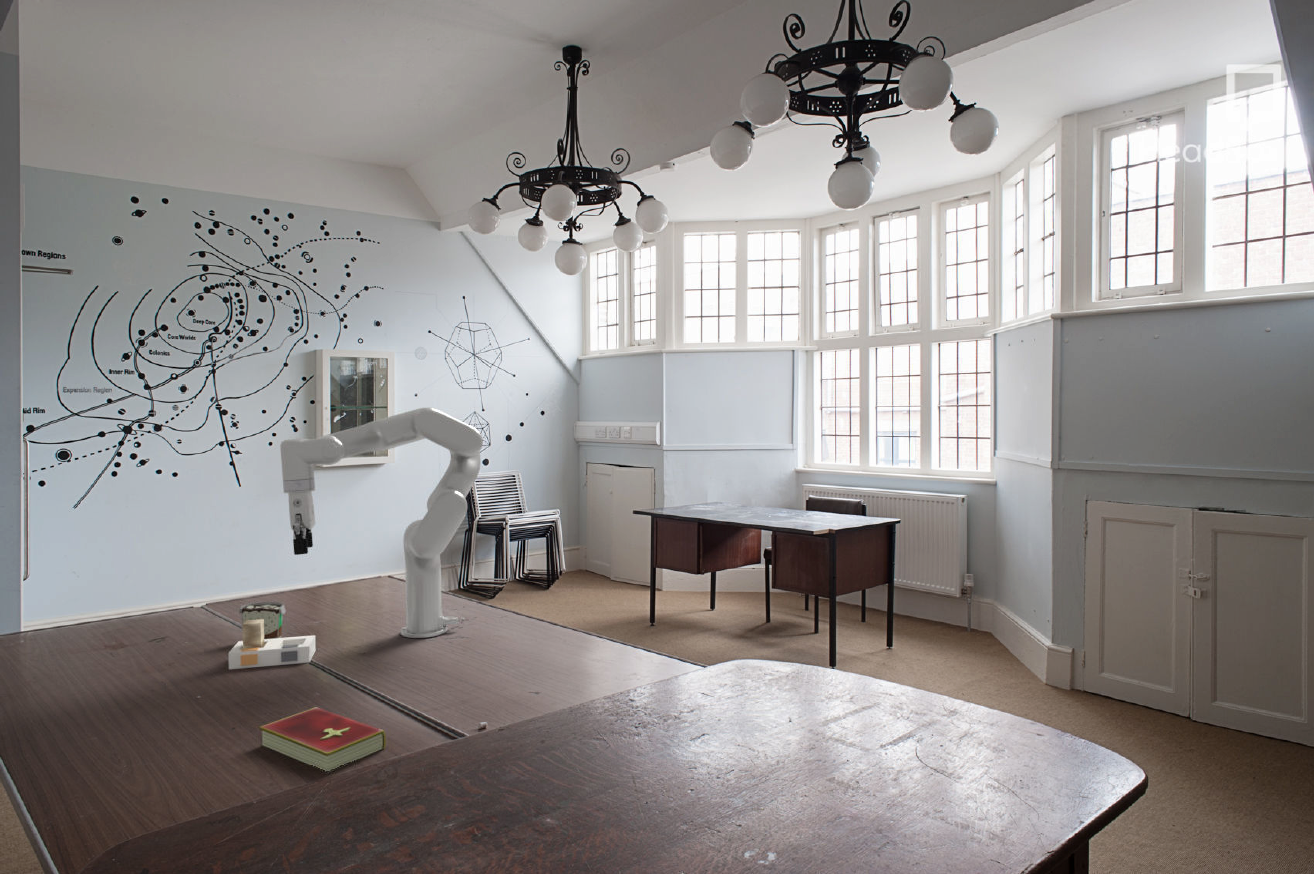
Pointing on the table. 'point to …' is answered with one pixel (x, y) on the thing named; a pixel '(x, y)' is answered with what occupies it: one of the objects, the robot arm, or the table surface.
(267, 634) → the food container
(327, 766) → the hardcover book
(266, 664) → the socket block
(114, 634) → the table surface
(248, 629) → the plug
